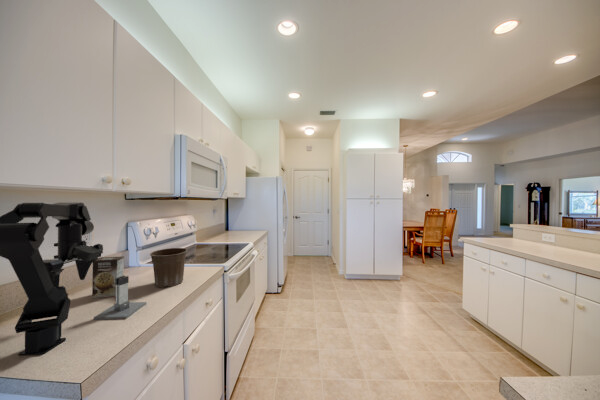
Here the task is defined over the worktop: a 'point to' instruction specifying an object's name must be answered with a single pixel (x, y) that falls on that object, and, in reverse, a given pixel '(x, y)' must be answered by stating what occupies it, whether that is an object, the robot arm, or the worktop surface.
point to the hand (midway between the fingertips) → (69, 284)
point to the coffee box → (106, 275)
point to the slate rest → (124, 314)
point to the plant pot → (168, 266)
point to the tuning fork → (121, 293)
